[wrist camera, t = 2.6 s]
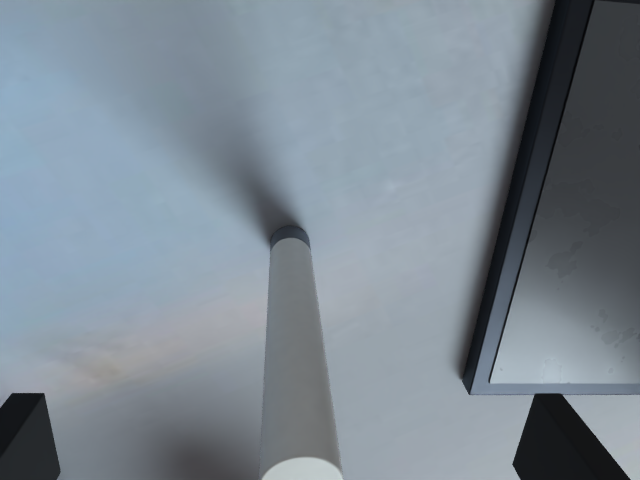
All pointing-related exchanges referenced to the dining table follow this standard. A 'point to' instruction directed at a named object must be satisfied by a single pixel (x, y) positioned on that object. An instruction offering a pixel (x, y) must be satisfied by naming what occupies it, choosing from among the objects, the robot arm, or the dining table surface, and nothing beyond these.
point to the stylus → (296, 371)
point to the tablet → (570, 221)
